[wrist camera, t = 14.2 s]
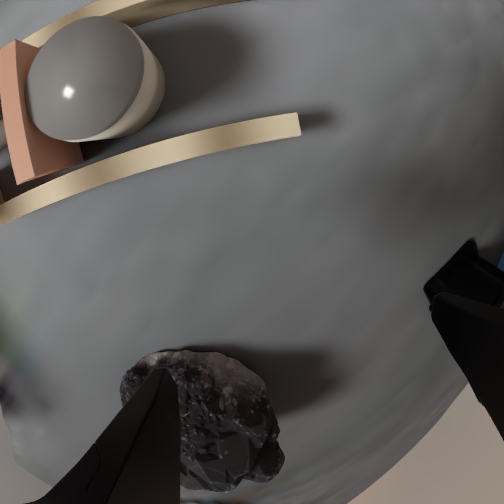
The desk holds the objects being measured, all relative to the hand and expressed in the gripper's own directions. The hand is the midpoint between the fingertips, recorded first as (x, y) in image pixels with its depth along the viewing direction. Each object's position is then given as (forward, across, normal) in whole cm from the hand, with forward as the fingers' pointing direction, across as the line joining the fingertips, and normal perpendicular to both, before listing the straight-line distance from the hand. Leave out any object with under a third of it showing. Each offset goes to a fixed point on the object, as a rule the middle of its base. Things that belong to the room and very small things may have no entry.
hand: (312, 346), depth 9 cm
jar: (+11, +7, -11) cm, 17 cm away
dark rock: (+11, +8, +14) cm, 20 cm away
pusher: (+11, +15, -11) cm, 21 cm away
